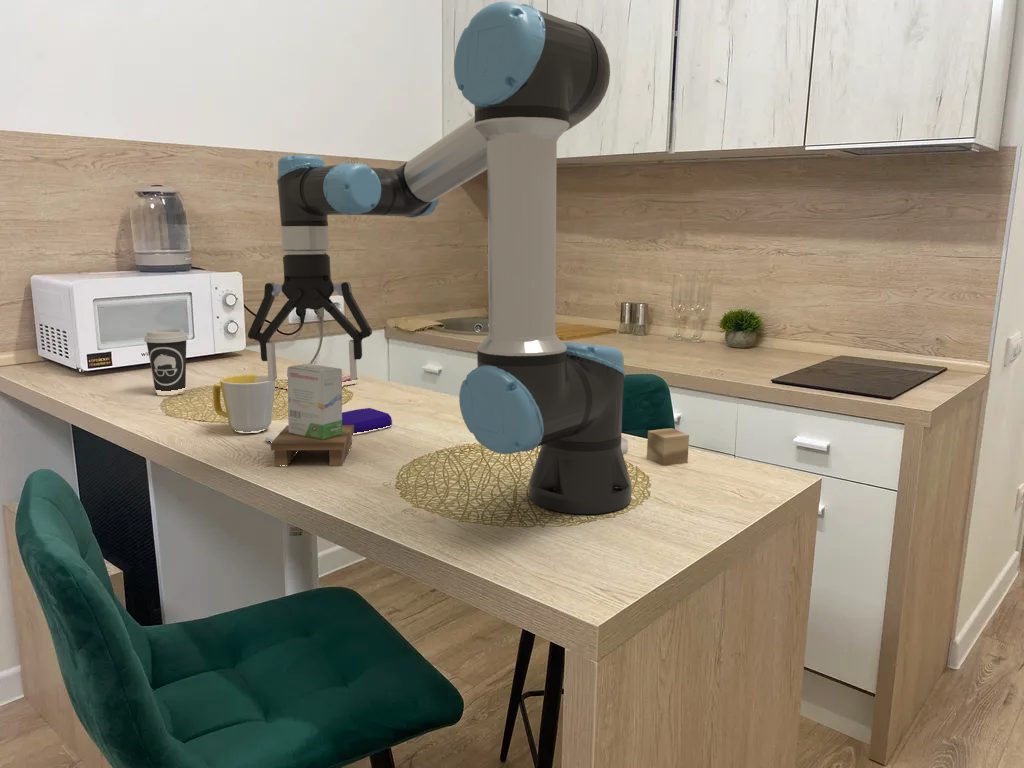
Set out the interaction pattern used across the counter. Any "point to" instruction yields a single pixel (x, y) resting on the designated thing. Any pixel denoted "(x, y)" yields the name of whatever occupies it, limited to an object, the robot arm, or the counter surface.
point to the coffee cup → (167, 358)
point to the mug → (246, 401)
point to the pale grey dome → (624, 445)
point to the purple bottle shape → (358, 421)
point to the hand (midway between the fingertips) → (313, 379)
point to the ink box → (314, 401)
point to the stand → (312, 445)
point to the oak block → (667, 446)
